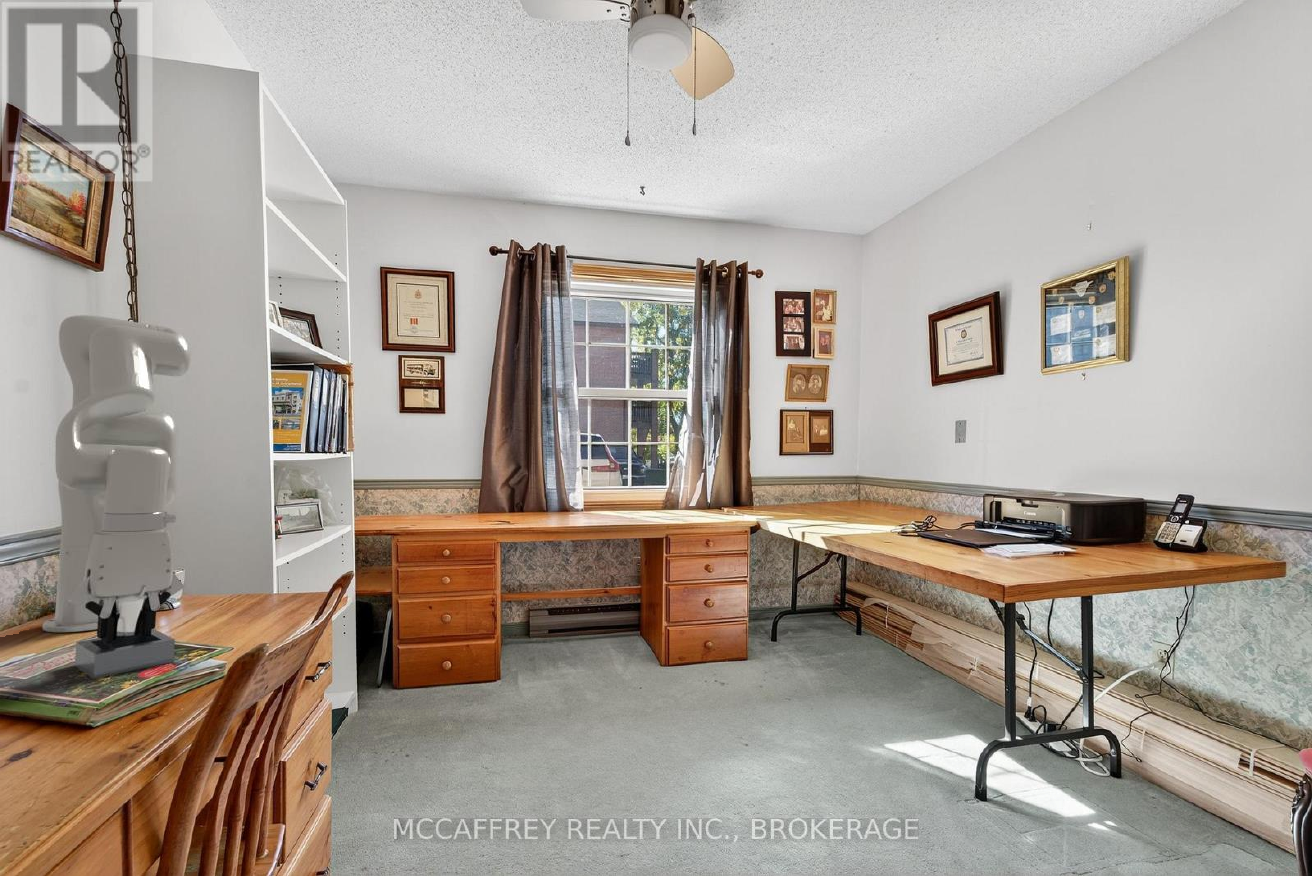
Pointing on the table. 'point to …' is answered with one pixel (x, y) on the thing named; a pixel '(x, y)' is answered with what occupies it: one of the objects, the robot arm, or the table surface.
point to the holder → (123, 655)
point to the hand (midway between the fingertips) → (126, 636)
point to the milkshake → (128, 619)
